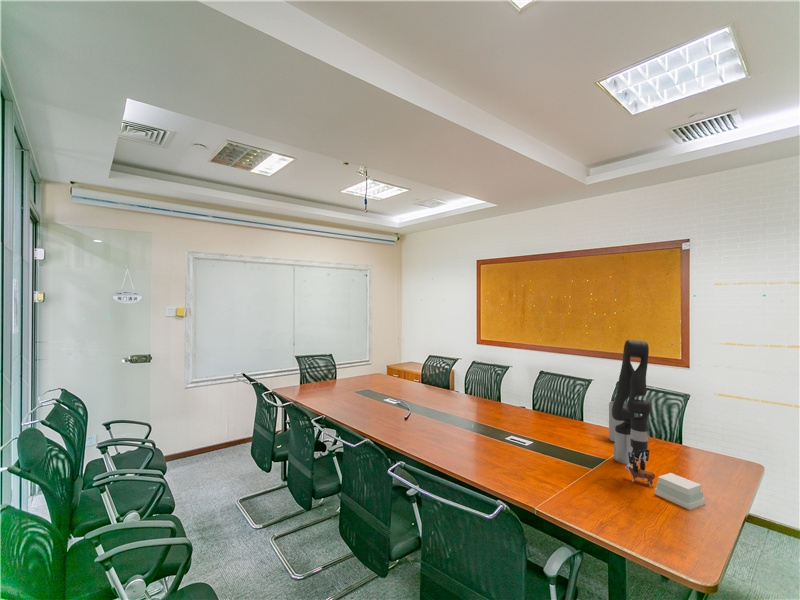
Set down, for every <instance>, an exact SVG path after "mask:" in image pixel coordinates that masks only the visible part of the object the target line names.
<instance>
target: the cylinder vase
mask: <svg viewBox="0 0 800 600" xmlns="http://www.w3.org/2000/svg"><path fill="white" fill-rule="evenodd" d="M613 403H614V401H613V400H612V401H609V402H608V439H609V441H610V442H613V443H615V427H616V426H617V425H619V424H621V423H623V422H624V421H618V420H615V419H614V418H613V416H612V407H613ZM624 405H627V402H625V403H624Z"/></svg>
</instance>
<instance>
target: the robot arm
mask: <svg viewBox="0 0 800 600" xmlns="http://www.w3.org/2000/svg"><path fill="white" fill-rule="evenodd" d="M649 350H650V348H649V343H648V342H647V341H644V340H634V339H627V340H625V342H624V347H623V354H622V362H621V368H620V373H619V377H618V383H617V389H616V392H615V393H616V394H615V396H614V399H613V400H614V403H613V407H612V416H613V418H614V419H615V420H618V421H624V422H623V423H621V424H619V425H617V426H616V427H615V442H613V459H614V460H615V462H617V461H618V463H620V464H623V465H628V464H630V465H633V471H634V472H636V473H638V469H640V470H644V471H646V463H647V462H649V457H650V449H648V448H649V440H648V439H649V438H648V437H649V436H648V435H649V434H648V421H649V417H650V414H651V411H652V405H651V403H650V402H649V401H648V400H642V399H636V398H637V397H643V396H646V395H647V371H648V363H649ZM631 358H639V359H640V361H639V365H638V366H637V368H636V369H634V366H633V364H632V362H631ZM626 401H627V402H626ZM624 403H627V405H624ZM636 414H638V415H639V414H640V415H641V416H636Z"/></svg>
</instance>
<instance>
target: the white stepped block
mask: <svg viewBox="0 0 800 600" xmlns="http://www.w3.org/2000/svg"><path fill="white" fill-rule="evenodd" d="M654 495H656V496H658V497H661V498H663V499H665V500H667V501H670V502H671V503H673V504H676V505H679V506H680V507H682V508H685V509H686V510H688V511H691V510H694V509H696V508H700V507H702V506H704V505H706V497H704V491H703V490H702V484H701V483H699V482H695V481H693V480H690V479H688V478H684V477H682V476H680V475H678V474H675V473H673V472H669V473H665V474H663V475H659V476H657V482H656V487H655V488H654Z"/></svg>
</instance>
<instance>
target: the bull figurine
mask: <svg viewBox="0 0 800 600" xmlns="http://www.w3.org/2000/svg"><path fill="white" fill-rule="evenodd" d="M624 468H625V469H626V470H627V471H628V473H629V474H630V476H632V480H631V482H633V483H634V482H635V481H636V482H639V480H638V479H641V480H642V481H645V480H647V481H646V482H645V484H646V485H648V484H649V487H650V488H651V487H653V484H654V482H653V481H654V479H655V478H656V475H655V474H654V472H652V471H649V470H641V469H640V468H638V473H636V472H634V471H633V464H625V466H624Z"/></svg>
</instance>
